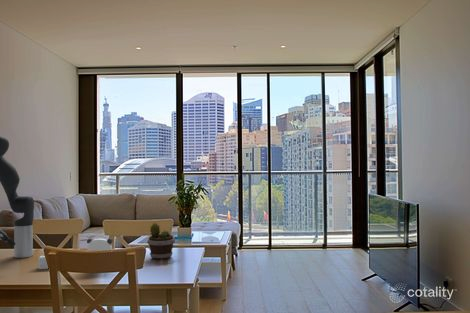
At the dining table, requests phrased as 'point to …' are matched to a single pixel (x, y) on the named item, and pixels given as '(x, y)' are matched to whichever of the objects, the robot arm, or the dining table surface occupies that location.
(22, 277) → the dining table surface
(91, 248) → the panda figurine
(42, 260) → the syrup box
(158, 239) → the flowerpot
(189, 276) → the dining table surface
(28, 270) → the dining table surface
